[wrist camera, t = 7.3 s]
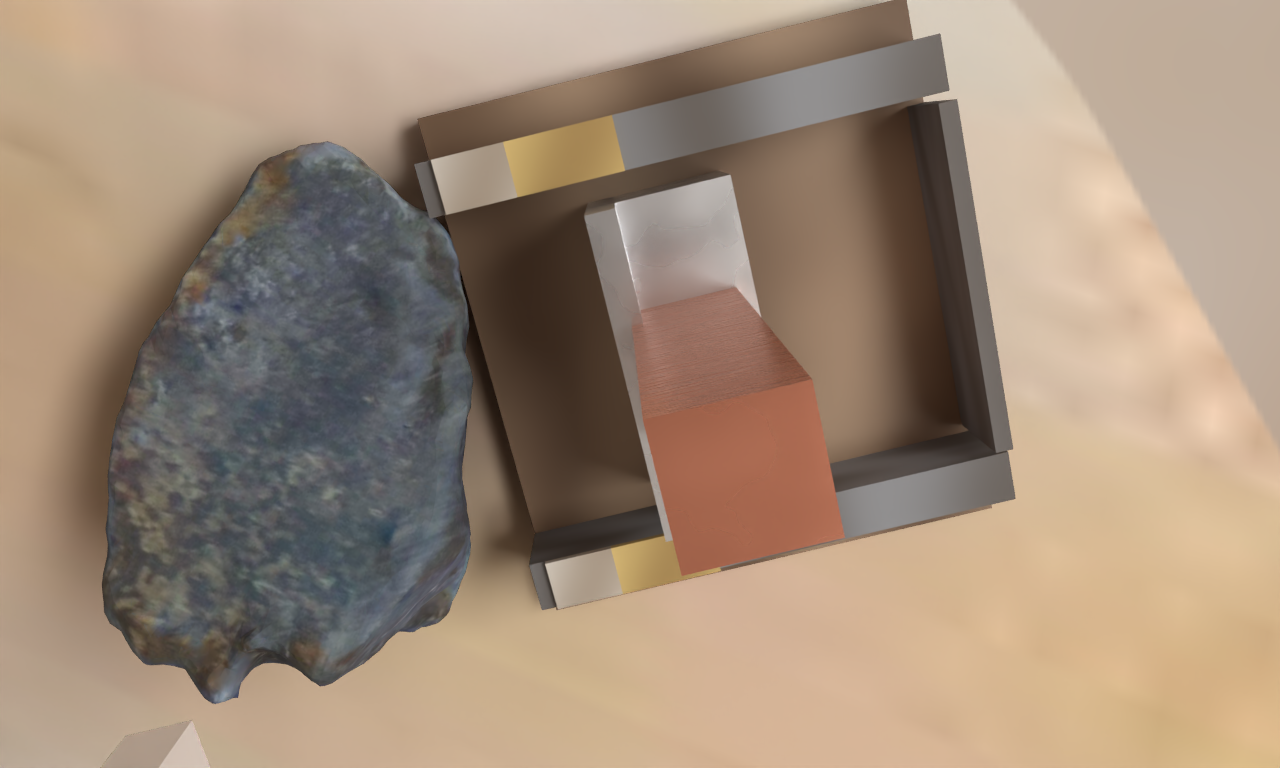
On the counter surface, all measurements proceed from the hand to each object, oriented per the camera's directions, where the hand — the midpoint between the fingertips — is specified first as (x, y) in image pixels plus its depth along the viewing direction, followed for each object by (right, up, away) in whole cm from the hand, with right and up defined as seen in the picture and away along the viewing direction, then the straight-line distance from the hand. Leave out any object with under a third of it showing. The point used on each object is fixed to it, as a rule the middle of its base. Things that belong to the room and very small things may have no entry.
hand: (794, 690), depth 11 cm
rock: (-12, +3, +22) cm, 25 cm away
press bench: (+1, +6, +21) cm, 22 cm away
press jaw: (0, +5, +20) cm, 21 cm away
